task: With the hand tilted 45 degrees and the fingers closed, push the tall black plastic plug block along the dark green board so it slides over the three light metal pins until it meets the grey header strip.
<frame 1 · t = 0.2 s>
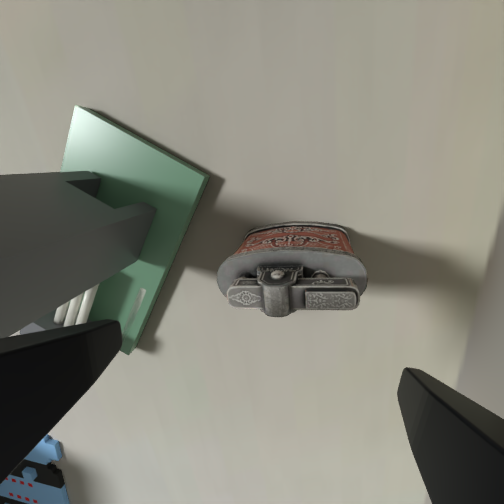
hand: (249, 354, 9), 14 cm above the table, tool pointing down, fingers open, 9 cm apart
lighter: (295, 241, 22), on the table
header: (83, 316, 27), resting on board
board: (114, 243, 25), on the table
plug: (50, 236, 17), point 7 cm above the table, slide at 0.0 cm
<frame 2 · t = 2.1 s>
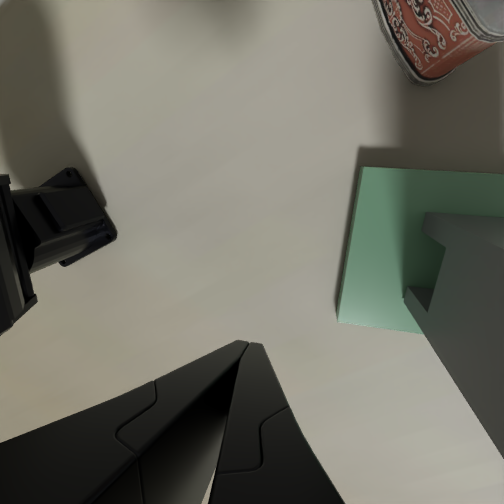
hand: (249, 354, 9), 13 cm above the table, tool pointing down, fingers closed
lighter: (410, 12, 16), on the table
board: (496, 261, 19), on the table
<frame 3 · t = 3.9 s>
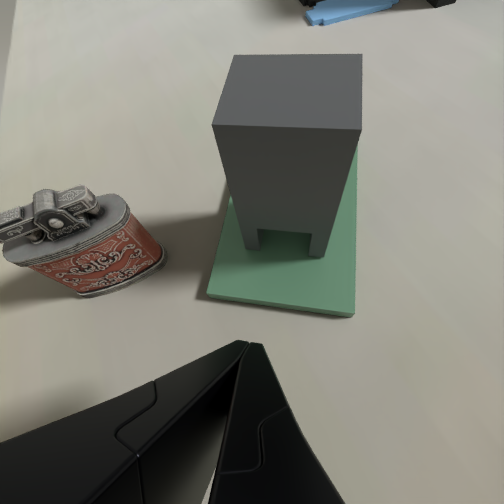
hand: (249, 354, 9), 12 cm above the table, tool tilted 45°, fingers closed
lighter: (124, 271, 25), on the table
board: (291, 206, 26), on the table
plug: (288, 177, 18), point 7 cm above the table, slide at 0.0 cm
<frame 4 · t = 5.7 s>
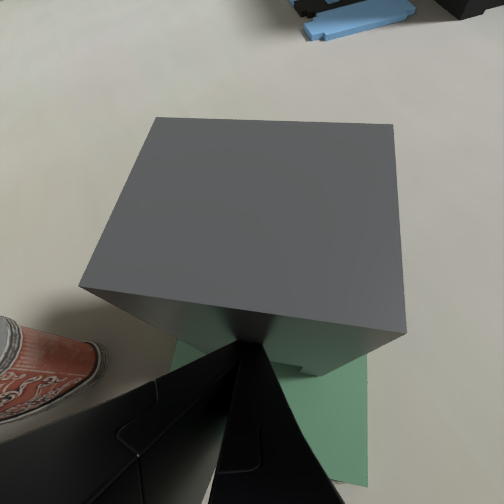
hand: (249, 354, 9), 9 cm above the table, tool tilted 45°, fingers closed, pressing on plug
lighter: (48, 382, 18), on the table
board: (277, 289, 19), on the table
plug: (265, 288, 12), point 7 cm above the table, slide at 0.4 cm, touching gripper
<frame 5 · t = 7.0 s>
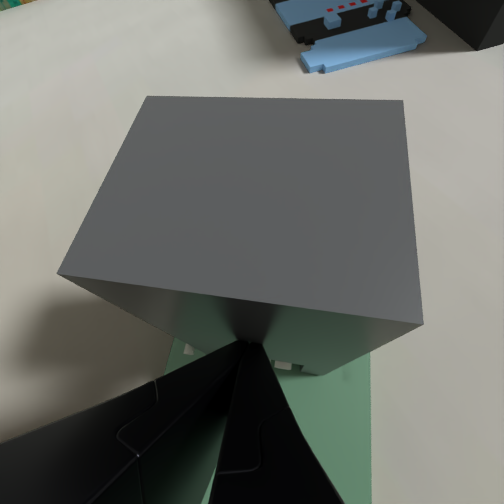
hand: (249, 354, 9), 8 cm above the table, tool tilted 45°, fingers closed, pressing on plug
board: (260, 404, 16), on the table
plug: (264, 283, 11), point 7 cm above the table, slide at 7.4 cm, touching gripper
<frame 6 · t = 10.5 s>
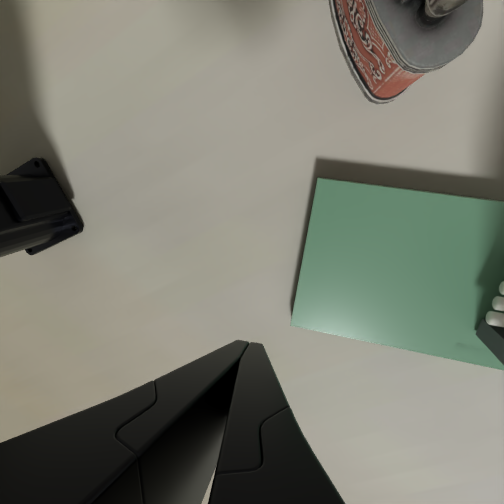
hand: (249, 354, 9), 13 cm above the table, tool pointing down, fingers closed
lighter: (368, 32, 16), on the table
board: (441, 276, 19), on the table
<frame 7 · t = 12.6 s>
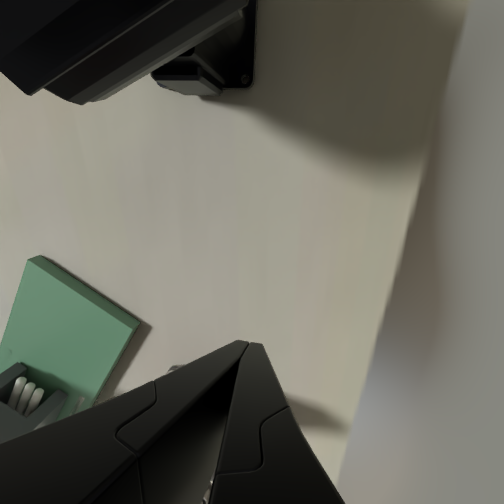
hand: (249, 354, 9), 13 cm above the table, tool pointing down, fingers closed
header: (31, 407, 31), resting on board
board: (60, 354, 29), on the table
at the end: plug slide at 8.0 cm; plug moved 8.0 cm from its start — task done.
